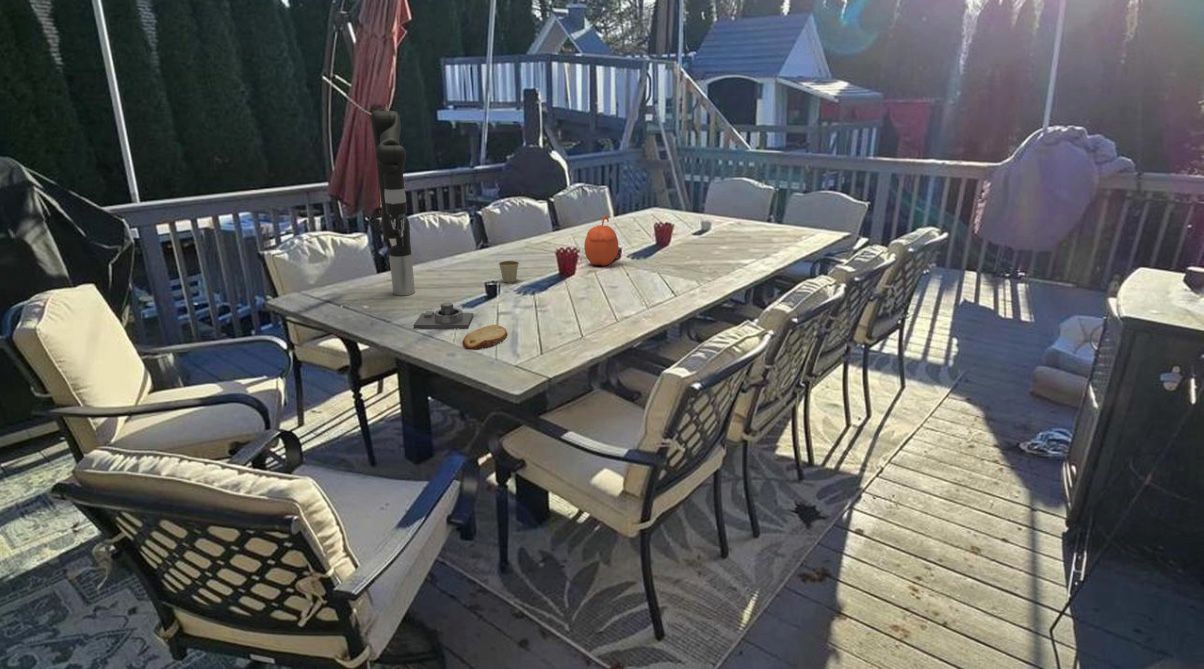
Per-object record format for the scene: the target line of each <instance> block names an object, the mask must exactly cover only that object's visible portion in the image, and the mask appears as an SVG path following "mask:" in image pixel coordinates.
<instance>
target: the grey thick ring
mask: <svg viewBox="0 0 1204 669" xmlns="http://www.w3.org/2000/svg"><path fill="white" fill-rule="evenodd" d="M453 309H454V315H441V308H440V309H438V310H435V311H434V314H435V321H436V322H437V323H440V324H453V323H458V322H460V321H462V319H463V313H464V312H463V310H462V309H460V308H457V307H453Z"/></svg>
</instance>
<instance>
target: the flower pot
mask: <svg viewBox="0 0 1204 669" xmlns="http://www.w3.org/2000/svg"><path fill="white" fill-rule="evenodd" d="M519 264H520V262H519V261H516V260H503V261H500V262H498V265H499V269H500V272H501V277H502V282H503V283H509V284H510V283H514V282H517V279H518V278H517V276H518V269H519V268H518V267H519Z"/></svg>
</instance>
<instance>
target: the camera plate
mask: <svg viewBox="0 0 1204 669" xmlns="http://www.w3.org/2000/svg"><path fill="white" fill-rule="evenodd" d="M434 313H435V311H434V310H426V311H425V312H421V313H420V315H419V317H418V318H417V319H416V321H415V322H414V324H413V329H414V328H422V329H421V330H435V329H436V330H437V329H438V330H440V329H441V330H443V328H456V330H462V329H463V330H465V329H466V330H468V329H469V328H470V326H471V323H472V321H473V319H474V317H475V316H474V312H462V313H463V319H462V321H460V322H458V323H453V324H440V323H437V322H436V321H435V314H434ZM457 328H459V329H457Z"/></svg>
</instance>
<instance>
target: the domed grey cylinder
mask: <svg viewBox="0 0 1204 669" xmlns="http://www.w3.org/2000/svg"><path fill="white" fill-rule="evenodd" d="M453 308H454V304H453V303H452V302H443V303H441V304H440V309H441V315H454V309H453Z"/></svg>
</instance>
